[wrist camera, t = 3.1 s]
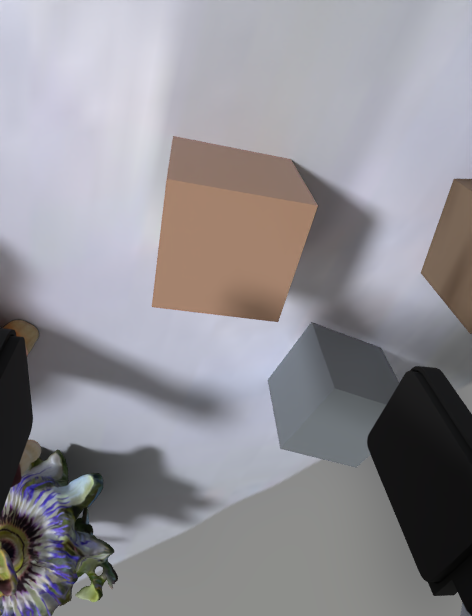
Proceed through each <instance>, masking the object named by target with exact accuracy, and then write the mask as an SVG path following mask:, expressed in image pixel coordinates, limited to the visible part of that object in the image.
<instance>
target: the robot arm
mask: <svg viewBox="0 0 472 616" xmlns="http://www.w3.org/2000/svg"><path fill="white" fill-rule="evenodd" d="M32 422H33V414H32V404H31V395H30V385H29V375H28V365H27V355H26V346H25V339H24V337H19V336H16V332H15V330H13V329H4V328H0V516H1V513H2V510H3V508H4V505H5V502H6V499H7V496H8V494H9V491H10V488H11V485H12V483H13V480H14V477H15V474H16V471H17V469H18V466H19V463H20V460H21V457H22V455H23V452H24V449H25V446H26V443H27V441H28V438H29V435H30V432H31V428H32ZM367 446H368V449H369V452H370V454H371V456H372V459H373V461H374V464H375V466H376V469H377V471H378V474H379V476H380V478H381V481H382V483H383V486H384V488H385V490H386V493H387V495H388V497H389V500H390V502H391V505H392V507H393V510H394V512H395V515H396V517H397V519H398V522H399V524H400V527H401V529H402V531H403V534H404V536H405V539H406V541H407V544H408V546H409V548H410V551H411V553H412V556H413V558H414V561H415V563H416V565H417V568H418V570H419V572H420V574H421V576H422V578H423V579H424V580H425V581H427V582H428V583H429V586H430V588H431V591H432V593H433V595H434V596H442V595H443V596H444V595H455V594H456V593H457V592H458V593H459V595H460V598H461V600H462V602H463V603H462V609H461V615H460V616H472V414H471V413H470V411H469V410H468V409H467V407H466V405H465V404H464V403H463V401H462V400H461V398H460V397H459V395H458V394H457V393H456V391H455V390H454V388H453V387H452V385H451V384H450V383H449V381H448V380H447V378H446V377H445V375H444V374H443V373H442V372H441V370H440V369H437V368H431V367H420V366H415V367H414V368H412V369H411V370H410V371H408V372H406V374H405V375H404V377H403V378H402V380H401V381H400V383H399V385H398V386H397V388H396V390H395V391H394V393H393V395H392V396H391V398H390V400H389V401H388V403H387V405H386V406H385V408H384V410H383V411H382V413H381V415H380V416H379V418H378V420H377V421H376V423H375V424H374V426H373V428H372V429H371V431H370V433H369V435H368V438H367Z"/></svg>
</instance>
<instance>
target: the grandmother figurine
mask: <svg viewBox="0 0 472 616" xmlns="http://www.w3.org/2000/svg"><path fill="white" fill-rule="evenodd" d="M3 328H4V329H13V330H15V332H16V336H19V337H24V339H25V346H26V355H28V354H29V352H30V351H31V349H32V348H33V346H34V344H35V342H36V341H37V339H38V337H39V332H38V330H37V329H36V328H35V327H34V326H33V325H31V324H29V323H27V322H25V321H22V320H13V321H11V322H9V323H8V324H7V325H5V326H4V327H3ZM40 454H41V446H40V445H39V443H38V442H36V441H34V440H28V441H27V443H26V446H25V449H24V452H23V455H22V457H21V460H20V463H19V466H18V469H17V471H16V474H15V477H14V480H13V483H12V485H11V487H13V486H15V485H17V484H18V483H20V482H21V479H22V476H21V475H22V474H23V473H24V472H25V471H26V470H27V469H28V467H29V465H30V463H32V462H34V461H36V460H37V459H38V458H39V456H40Z"/></svg>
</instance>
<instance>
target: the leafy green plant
mask: <svg viewBox="0 0 472 616" xmlns="http://www.w3.org/2000/svg"><path fill="white" fill-rule="evenodd" d="M21 476H22V479H21V482H20V483H18V484H17V485H15V486H13V487H11V488H10V491H9V494H8V496H7V499H6V502H5V505H4V508H3V510H2V513H1V516H0V616H1V615H2V616H52V614H53V612H54V610H55V609H56V608H57V607H58V606H59V605H60V606H61V605H64V604H66V603H67V602H69V601H71V598H72V587H73V584H74V583H75V582H76V581H77V579H78V577H80V576H82V575H83V574H84V573H86V574H87V575H88V576H89V578H90V580H91V585H90V586H86V587H84V588H82V589H81V590H80V591H79V592H77V594H76V596H77V597H78V598H80V599H84V600H90V601H91V602H96V601H98V600H100V598H101V597H102V596H103V594H102V586H103V584H104V582H105V581H106V580H107V581H108V584H109V586H110V588H111V589H112V588H113V586H112V584H115V582H116V581H117V580H118V576H117V574H116V572H115V570H114V569H113V567H112V565H111V564H110V563H109V562H108V557H109V556H110V555H112V554H113V553H114V549H113V548H112V547H111V546H110V545H109V544H107V543H106V542H104V541H102V540H100V539H97V538H96V537H95V536H94V535H93V528H92V526H91V525H90V524H89V516H88V507H89V506H90V505H91V504H92V503H93V502H94V500H95V499H96V498H97V497H98V495H99V494H100V493H101V491H102V489H103V479H102V476H101V475H100V474H99V473H89V474H86V475H83V476H80V477H79V478H77V479H75V480H73V481H71V482H70V483H69V484H68V468H67V464H66V460H65V458H64V457H63V455H62V453H61V451H60V450H56V451H55V452H54V453H53V454H51V455H50V456H49V458H48V459H47V460H46V461H42V460H41V459H40V458H38V459H37V460H36V461H34V462H32V463H30V465H29V467H28V469H27V470H26V471H25V472H24V473H23V474H22V475H21ZM83 509H84V511H83V517H82V518H78V516H79V514H80V513H81V511H82V510H83ZM77 518H78V519H77ZM98 566H101V567H103V573H102V574H101V575H100V576H97V575H96V574H95V569H96V567H98Z"/></svg>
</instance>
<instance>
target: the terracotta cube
mask: <svg viewBox="0 0 472 616" xmlns="http://www.w3.org/2000/svg"><path fill="white" fill-rule="evenodd" d="M317 207H318V205H317V203H316V201H315V200H314V198H313V196H312V195H311V193H310V191H309V189H308V188H307V186H306V184H305V183H304V181H303V179H302V178H301V176H300V174H299V172H298V171H297V169H296V167H295V166H294V164H293V162H292V160H291V159H287V158H282V157H277V156H272V155H267V154H261V153H256V152H251V151H246V150H241V149H236V148H231V147H226V146H221V145H216V144H211V143H206V142H201V141H196V140H191V139H186V138H180V137H175V136H173V141H172V147H171V154H170V161H169V167H168V174H167V181H166V190H165V198H164V207H163V215H162V224H161V233H160V241H159V250H158V258H157V267H156V275H155V284H154V293H153V301H152V307H157V308H165V309H173V310H182V311H190V312H198V313H207V314H215V315H224V316H232V317H240V318H249V319H257V320H265V321H274V322H278V321H279V318H280V315H281V312H282V309H283V306H284V303H285V300H286V297H287V295H288V292H289V289H290V286H291V283H292V280H293V277H294V274H295V271H296V268H297V265H298V263H299V260H300V257H301V254H302V251H303V248H304V245H305V242H306V239H307V236H308V233H309V231H310V228H311V225H312V222H313V219H314V216H315V213H316V210H317Z"/></svg>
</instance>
